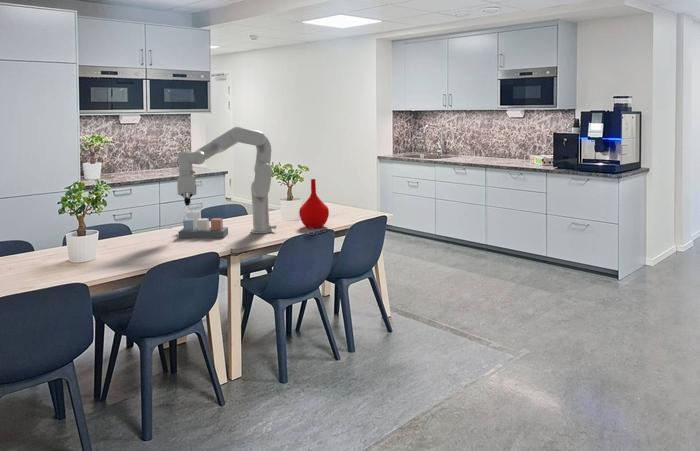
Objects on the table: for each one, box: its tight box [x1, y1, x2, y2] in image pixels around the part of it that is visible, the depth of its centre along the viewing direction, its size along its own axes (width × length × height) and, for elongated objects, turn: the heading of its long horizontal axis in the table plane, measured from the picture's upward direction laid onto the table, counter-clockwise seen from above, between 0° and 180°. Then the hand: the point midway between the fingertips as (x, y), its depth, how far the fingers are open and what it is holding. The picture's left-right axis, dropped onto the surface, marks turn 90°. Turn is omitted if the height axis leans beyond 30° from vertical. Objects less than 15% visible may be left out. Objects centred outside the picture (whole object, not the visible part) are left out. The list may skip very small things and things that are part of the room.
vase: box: [298, 178, 330, 229], centre depth 376 cm, size 18×18×30 cm
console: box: [177, 226, 229, 240], centre depth 355 cm, size 26×12×4 cm, turn 89°
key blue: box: [182, 218, 196, 231], centre depth 355 cm, size 6×6×6 cm
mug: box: [183, 209, 202, 228], centre depth 370 cm, size 12×8×12 cm
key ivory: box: [197, 217, 210, 231], centre depth 354 cm, size 6×6×6 cm
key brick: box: [210, 217, 224, 230], centre depth 354 cm, size 6×6×6 cm
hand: (187, 204), depth 352 cm, fingers closed
